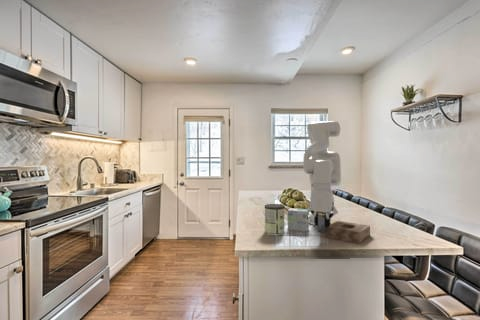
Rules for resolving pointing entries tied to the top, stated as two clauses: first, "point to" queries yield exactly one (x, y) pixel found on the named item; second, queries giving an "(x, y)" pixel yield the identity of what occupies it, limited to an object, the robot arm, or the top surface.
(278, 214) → the coffee can
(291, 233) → the top surface
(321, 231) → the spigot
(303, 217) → the light bulb box
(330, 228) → the socket
